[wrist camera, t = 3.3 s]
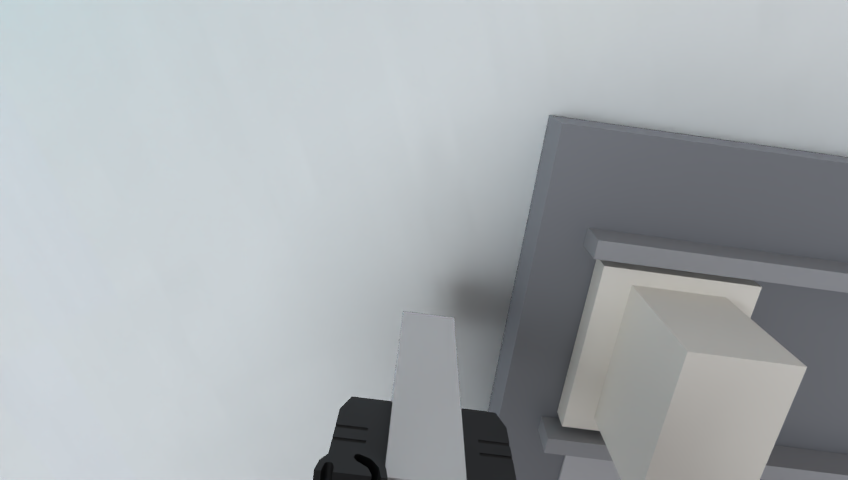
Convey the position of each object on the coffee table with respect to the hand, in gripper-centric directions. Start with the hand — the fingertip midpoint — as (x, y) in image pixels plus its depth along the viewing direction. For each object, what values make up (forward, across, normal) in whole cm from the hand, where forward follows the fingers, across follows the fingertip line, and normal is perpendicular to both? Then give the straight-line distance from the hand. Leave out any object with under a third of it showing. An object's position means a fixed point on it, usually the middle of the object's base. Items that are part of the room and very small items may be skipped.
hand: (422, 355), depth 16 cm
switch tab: (+2, -8, 0) cm, 8 cm away
